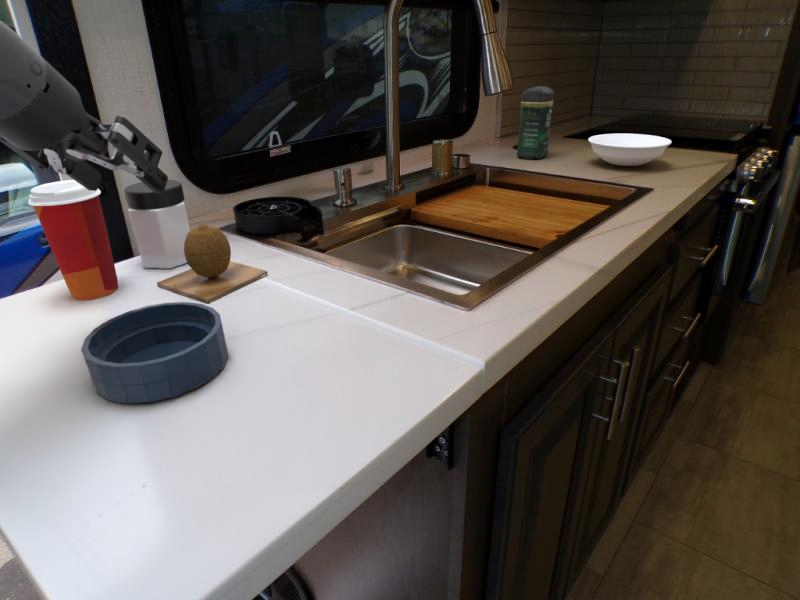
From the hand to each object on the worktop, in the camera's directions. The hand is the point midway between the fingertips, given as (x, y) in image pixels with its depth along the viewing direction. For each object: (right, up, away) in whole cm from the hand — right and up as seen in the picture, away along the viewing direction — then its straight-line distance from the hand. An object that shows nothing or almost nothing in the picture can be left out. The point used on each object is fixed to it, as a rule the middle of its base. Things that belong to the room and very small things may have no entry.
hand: (129, 185), depth 59 cm
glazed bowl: (+5, -20, -3) cm, 21 cm away
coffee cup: (-13, -12, +16) cm, 23 cm away
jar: (-7, -7, +26) cm, 27 cm away
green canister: (+68, +28, +90) cm, 116 cm away
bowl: (+89, +22, +78) cm, 120 cm away
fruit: (+3, -10, +17) cm, 20 cm away
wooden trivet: (+3, -10, +18) cm, 21 cm away
